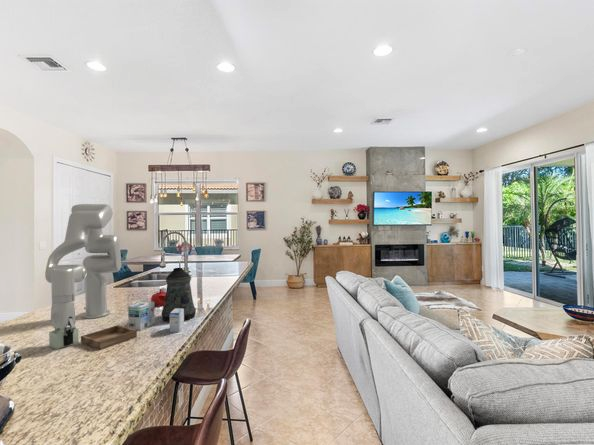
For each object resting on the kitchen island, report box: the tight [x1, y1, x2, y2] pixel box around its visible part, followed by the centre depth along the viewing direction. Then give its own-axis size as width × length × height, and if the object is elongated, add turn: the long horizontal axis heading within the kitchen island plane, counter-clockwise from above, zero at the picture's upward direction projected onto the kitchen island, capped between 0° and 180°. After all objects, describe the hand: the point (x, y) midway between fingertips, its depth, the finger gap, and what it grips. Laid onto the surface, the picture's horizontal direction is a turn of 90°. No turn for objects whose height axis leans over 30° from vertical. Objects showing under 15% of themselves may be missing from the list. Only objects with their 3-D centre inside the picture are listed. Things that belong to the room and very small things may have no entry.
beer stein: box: [161, 267, 197, 323], centre depth 171 cm, size 16×19×25 cm
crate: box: [80, 324, 138, 351], centre depth 140 cm, size 14×16×3 cm
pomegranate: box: [150, 288, 166, 307], centre depth 196 cm, size 10×10×9 cm
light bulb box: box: [127, 300, 155, 331], centre depth 157 cm, size 11×7×11 cm, turn 168°
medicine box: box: [169, 308, 185, 333], centre depth 153 cm, size 8×4×9 cm, turn 5°
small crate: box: [48, 325, 80, 350], centre depth 135 cm, size 6×8×6 cm
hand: (64, 342), depth 135 cm, fingers closed on small crate, 5 cm apart
